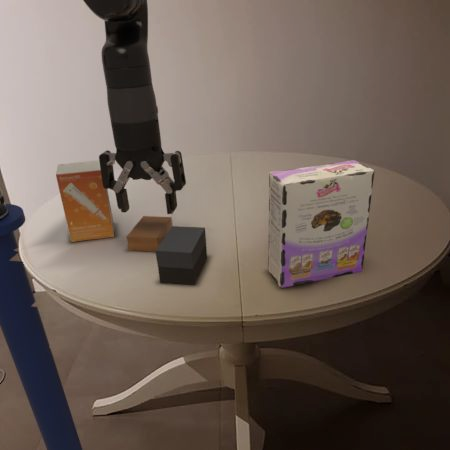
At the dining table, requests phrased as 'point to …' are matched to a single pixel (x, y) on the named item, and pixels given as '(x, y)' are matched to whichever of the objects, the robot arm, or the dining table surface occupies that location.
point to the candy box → (318, 221)
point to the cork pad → (149, 233)
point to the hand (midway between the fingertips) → (148, 211)
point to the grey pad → (181, 247)
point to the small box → (85, 201)
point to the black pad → (183, 272)
